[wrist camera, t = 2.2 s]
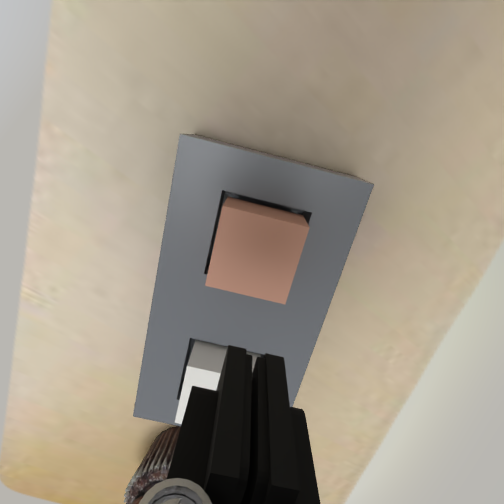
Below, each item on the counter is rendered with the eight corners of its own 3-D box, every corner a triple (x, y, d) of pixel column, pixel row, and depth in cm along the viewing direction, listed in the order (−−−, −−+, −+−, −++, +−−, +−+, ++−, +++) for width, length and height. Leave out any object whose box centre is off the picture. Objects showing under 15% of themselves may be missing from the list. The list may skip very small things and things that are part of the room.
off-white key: (195, 339, 25) (187, 365, 22) (260, 354, 25) (260, 382, 22) (183, 391, 26) (174, 422, 24) (245, 405, 27) (243, 436, 24)
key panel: (193, 134, 23) (180, 133, 20) (356, 176, 24) (373, 184, 20) (148, 381, 31) (133, 416, 27) (275, 409, 31) (277, 446, 27)
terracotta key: (227, 196, 21) (222, 205, 18) (303, 215, 22) (309, 227, 19) (211, 267, 23) (204, 285, 20) (282, 283, 23) (285, 304, 20)
